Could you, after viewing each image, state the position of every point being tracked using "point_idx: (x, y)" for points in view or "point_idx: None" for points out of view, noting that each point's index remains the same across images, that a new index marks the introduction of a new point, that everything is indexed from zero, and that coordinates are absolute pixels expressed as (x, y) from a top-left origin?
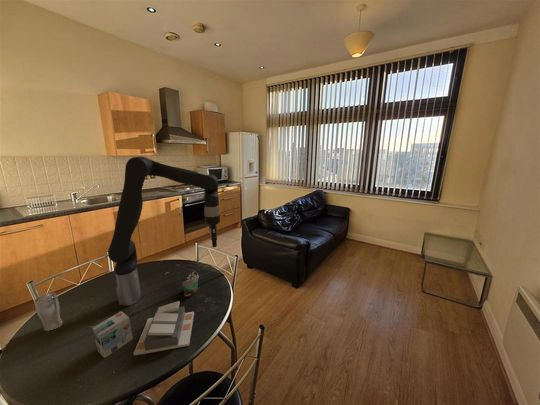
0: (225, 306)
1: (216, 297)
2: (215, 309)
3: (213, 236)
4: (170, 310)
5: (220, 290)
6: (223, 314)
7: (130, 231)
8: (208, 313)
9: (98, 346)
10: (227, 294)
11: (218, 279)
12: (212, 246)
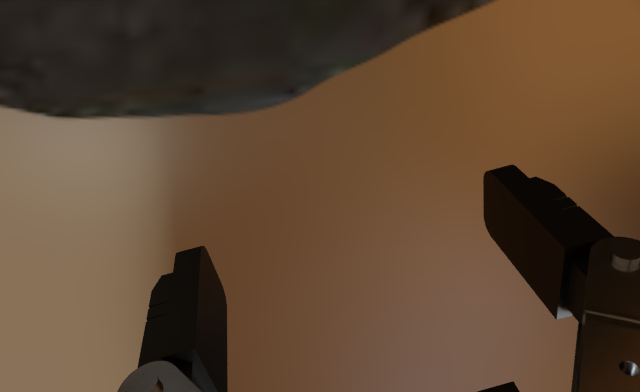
0: (98, 104)
1: (183, 31)
2: (61, 44)
3: (525, 250)
4: None
5: (260, 48)
6: (24, 102)
7: None
8: (13, 3)
9: None
10: (216, 100)
11: (392, 13)
12: (178, 256)
